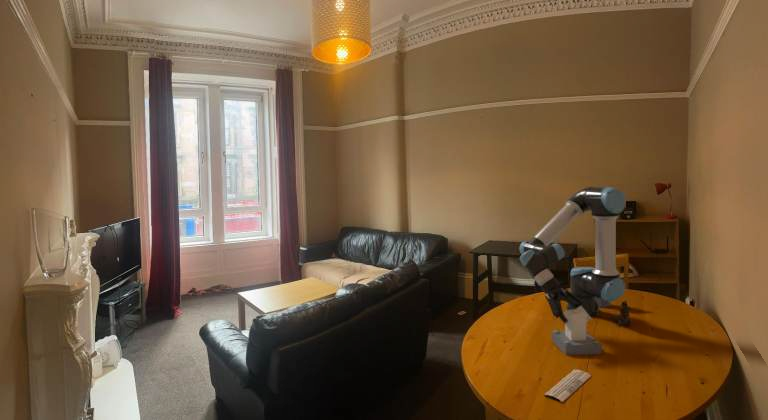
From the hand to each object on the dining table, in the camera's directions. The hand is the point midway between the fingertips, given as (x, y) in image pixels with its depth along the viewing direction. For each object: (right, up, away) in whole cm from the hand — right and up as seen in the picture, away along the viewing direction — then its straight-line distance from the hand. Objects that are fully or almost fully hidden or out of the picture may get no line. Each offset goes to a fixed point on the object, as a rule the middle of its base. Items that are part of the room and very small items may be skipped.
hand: (581, 324), depth 166 cm
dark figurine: (+33, -7, +28) cm, 44 cm away
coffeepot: (+37, -4, +52) cm, 64 cm away
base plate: (-1, -10, +3) cm, 10 cm away
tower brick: (-1, -6, +3) cm, 7 cm away
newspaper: (-17, -14, -27) cm, 35 cm away
